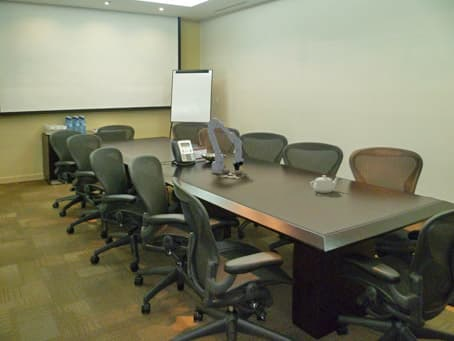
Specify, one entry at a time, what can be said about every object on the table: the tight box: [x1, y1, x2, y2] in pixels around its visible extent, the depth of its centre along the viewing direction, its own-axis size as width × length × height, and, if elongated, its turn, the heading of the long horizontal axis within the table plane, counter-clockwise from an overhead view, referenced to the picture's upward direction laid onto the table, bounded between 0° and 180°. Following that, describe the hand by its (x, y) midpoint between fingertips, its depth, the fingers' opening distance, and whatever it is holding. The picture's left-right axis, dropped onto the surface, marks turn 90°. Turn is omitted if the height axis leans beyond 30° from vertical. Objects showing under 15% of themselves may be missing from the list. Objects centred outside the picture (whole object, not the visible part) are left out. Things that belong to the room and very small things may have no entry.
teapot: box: [309, 174, 340, 194], centre depth 266 cm, size 22×14×11 cm, turn 111°
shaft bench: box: [217, 168, 247, 180], centre depth 313 cm, size 17×14×5 cm
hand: (238, 171), depth 326 cm, fingers closed on coupler, 4 cm apart
